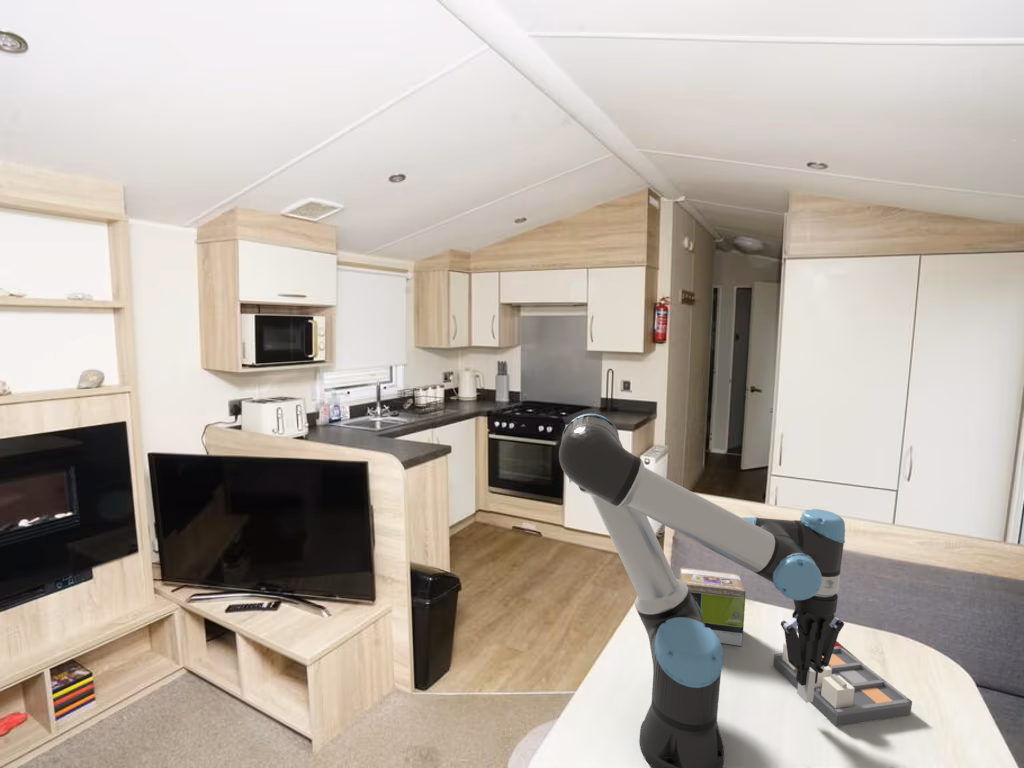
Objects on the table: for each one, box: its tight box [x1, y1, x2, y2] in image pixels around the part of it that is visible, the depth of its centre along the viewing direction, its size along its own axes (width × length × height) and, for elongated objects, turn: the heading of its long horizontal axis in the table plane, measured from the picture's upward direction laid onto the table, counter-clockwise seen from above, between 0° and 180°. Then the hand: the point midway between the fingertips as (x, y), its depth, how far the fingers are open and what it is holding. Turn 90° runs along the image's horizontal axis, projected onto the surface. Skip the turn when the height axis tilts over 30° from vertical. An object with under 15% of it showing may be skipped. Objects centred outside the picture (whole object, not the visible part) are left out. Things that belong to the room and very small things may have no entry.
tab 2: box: [814, 666, 832, 688], centre depth 119 cm, size 4×4×5 cm
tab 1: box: [782, 642, 797, 670], centre depth 125 cm, size 4×4×5 cm
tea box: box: [679, 567, 747, 647], centre depth 141 cm, size 15×10×15 cm, turn 77°
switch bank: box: [772, 646, 913, 728], centre depth 121 cm, size 18×19×3 cm
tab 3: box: [821, 674, 855, 708], centre depth 113 cm, size 4×4×5 cm
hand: (804, 697), depth 112 cm, fingers closed
